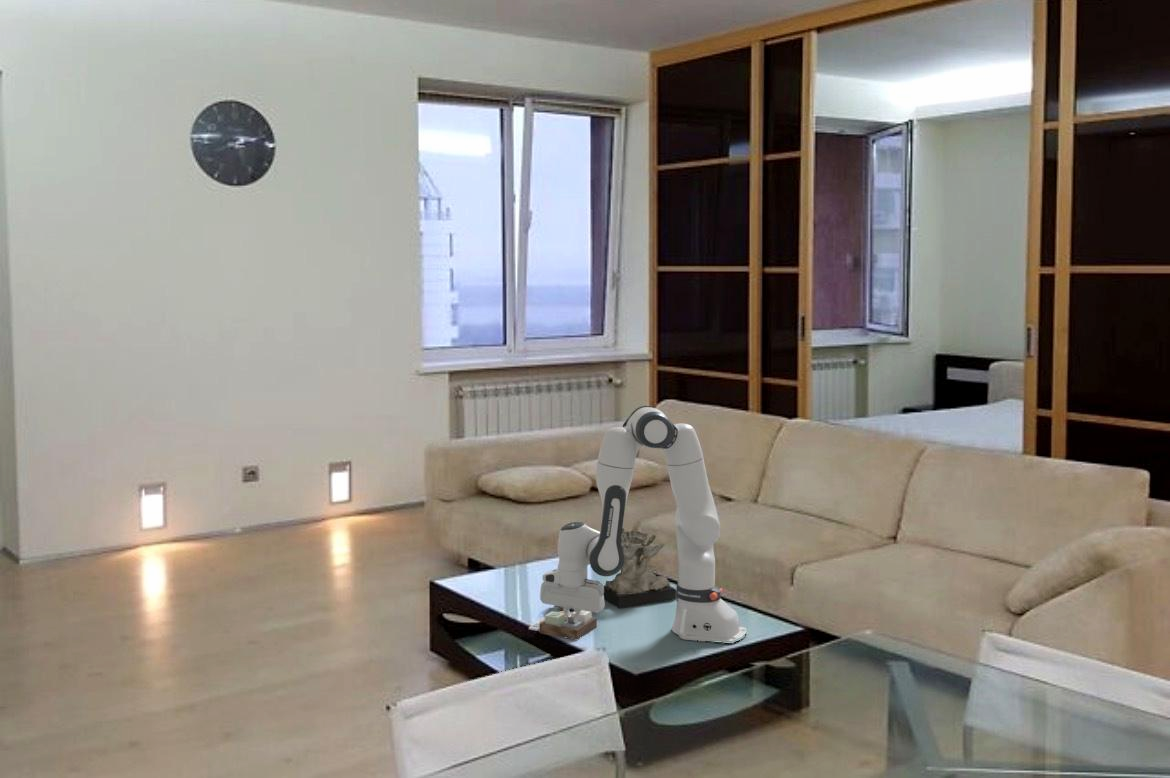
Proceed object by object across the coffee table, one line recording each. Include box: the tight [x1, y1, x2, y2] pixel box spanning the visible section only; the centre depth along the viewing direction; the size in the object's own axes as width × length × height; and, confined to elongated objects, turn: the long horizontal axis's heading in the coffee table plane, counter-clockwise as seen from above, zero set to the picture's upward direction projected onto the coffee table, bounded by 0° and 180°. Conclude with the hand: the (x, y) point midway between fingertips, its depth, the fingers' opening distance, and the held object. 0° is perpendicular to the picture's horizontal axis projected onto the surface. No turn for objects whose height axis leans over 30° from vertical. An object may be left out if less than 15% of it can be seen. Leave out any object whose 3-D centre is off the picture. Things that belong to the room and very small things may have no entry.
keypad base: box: [538, 611, 598, 640], centre depth 350 cm, size 13×13×3 cm
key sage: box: [544, 610, 565, 626], centre depth 348 cm, size 4×4×4 cm
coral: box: [603, 527, 676, 609], centre depth 382 cm, size 25×20×22 cm
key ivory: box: [571, 610, 593, 623], centre depth 351 cm, size 4×4×4 cm
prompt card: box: [528, 617, 545, 632], centre depth 354 cm, size 3×10×1 cm, turn 153°
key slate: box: [563, 621, 582, 629], centre depth 346 cm, size 4×4×4 cm
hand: (572, 621), depth 346 cm, fingers closed, pressing on key slate
